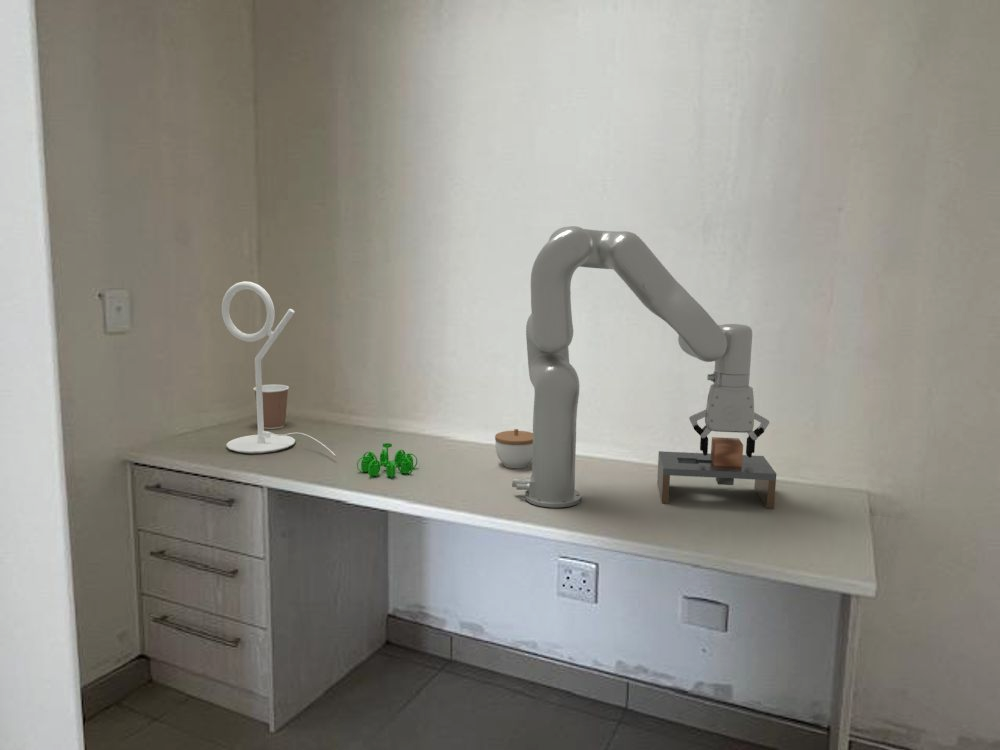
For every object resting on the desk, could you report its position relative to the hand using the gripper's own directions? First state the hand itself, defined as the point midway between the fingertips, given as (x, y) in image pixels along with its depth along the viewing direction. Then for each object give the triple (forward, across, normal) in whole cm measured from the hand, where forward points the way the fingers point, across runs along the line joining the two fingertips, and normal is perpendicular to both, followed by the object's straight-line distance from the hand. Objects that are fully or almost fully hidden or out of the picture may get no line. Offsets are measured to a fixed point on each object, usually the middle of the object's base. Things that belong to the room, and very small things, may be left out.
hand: (726, 454), depth 177 cm
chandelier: (+10, -80, +7) cm, 81 cm away
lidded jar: (+10, -50, +17) cm, 53 cm away
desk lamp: (+10, -112, +22) cm, 115 cm away
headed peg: (+6, 0, 0) cm, 7 cm away
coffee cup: (+10, -126, +45) cm, 135 cm away
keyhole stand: (+10, -2, 0) cm, 10 cm away
